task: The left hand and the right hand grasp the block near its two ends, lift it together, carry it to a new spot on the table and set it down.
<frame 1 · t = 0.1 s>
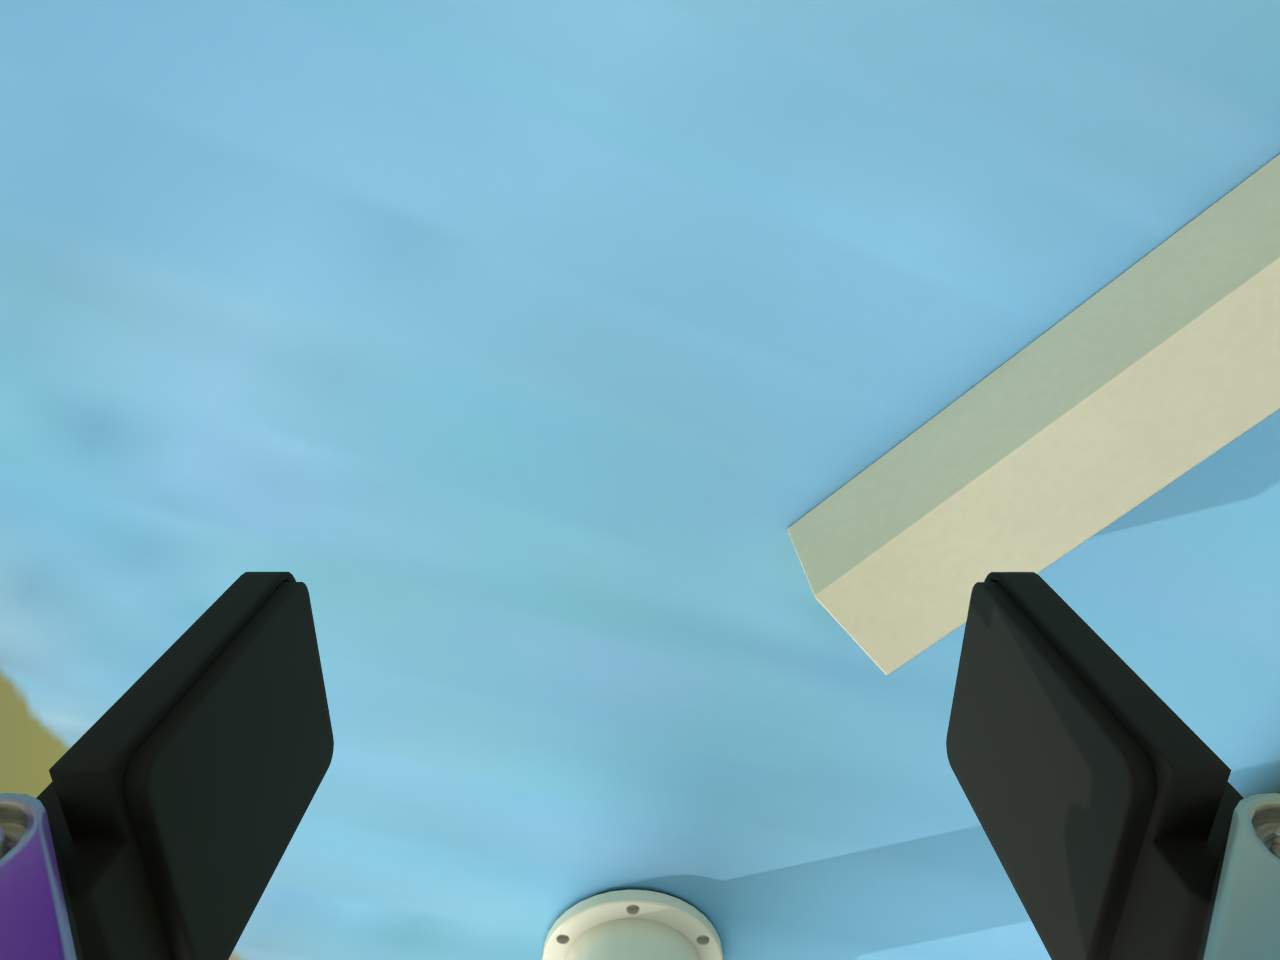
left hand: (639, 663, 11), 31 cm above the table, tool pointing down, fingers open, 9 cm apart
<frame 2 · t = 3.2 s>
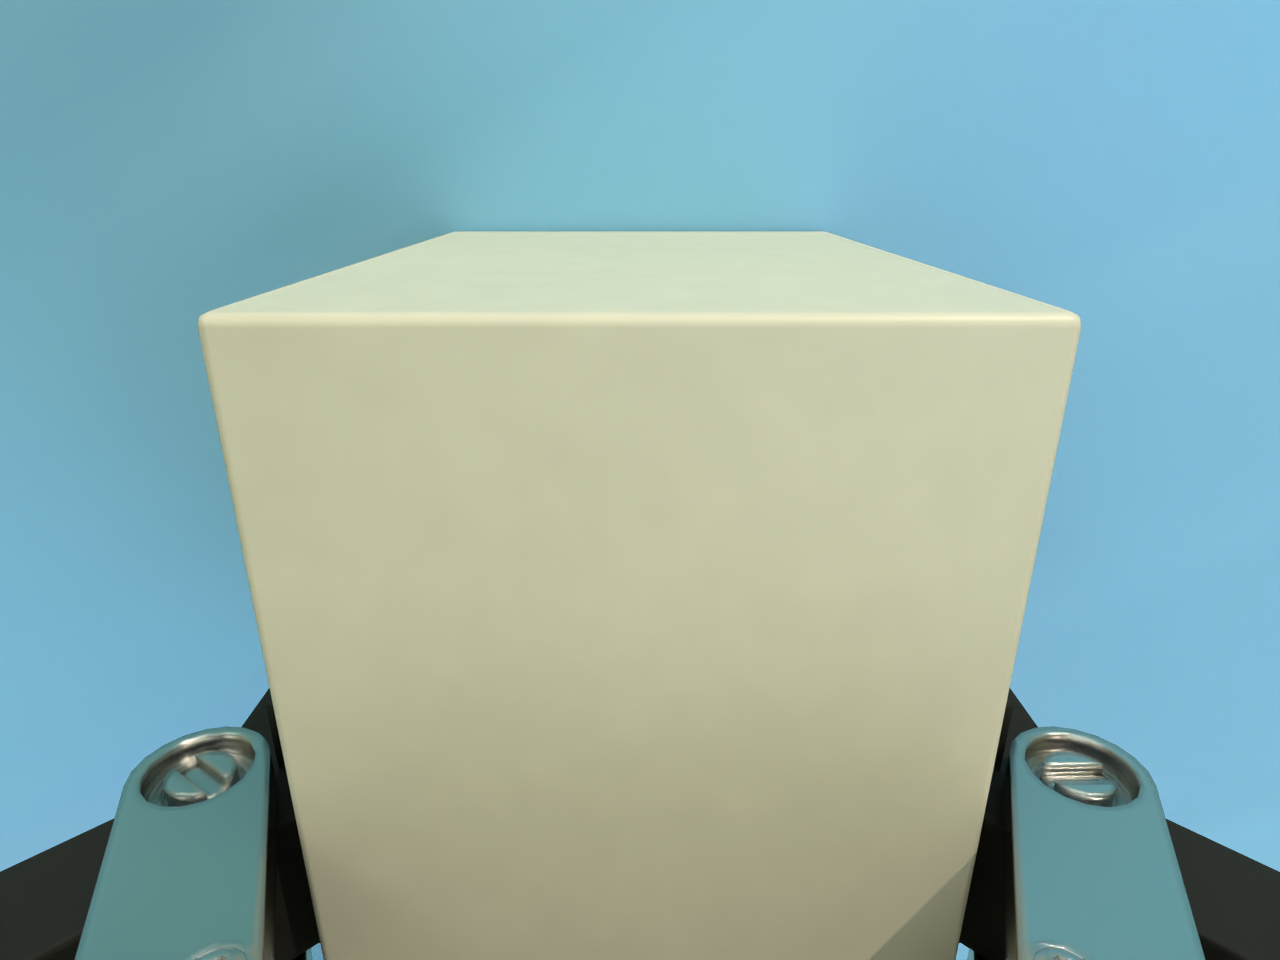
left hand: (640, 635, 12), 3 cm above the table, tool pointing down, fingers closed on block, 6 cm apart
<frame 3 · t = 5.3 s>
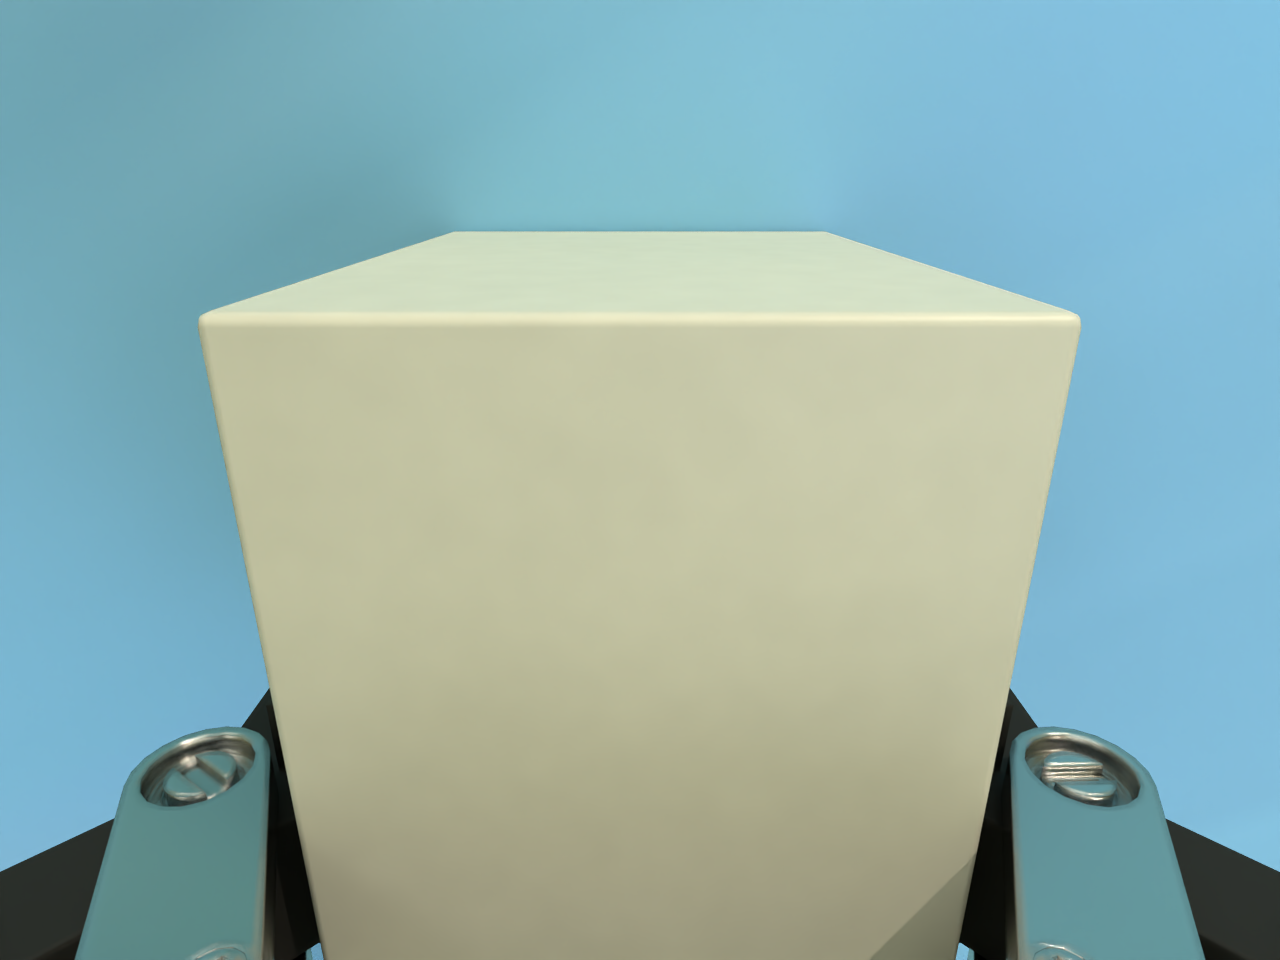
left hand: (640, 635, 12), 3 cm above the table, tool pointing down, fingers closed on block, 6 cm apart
when the right hand's fingers open (2 cm above the table, at t = 10.1 s): block drops 1 cm, on the table.
when the left hand's fingers open (4 cm above the table, at t = 10.2 s): block stays where it is, on the table.
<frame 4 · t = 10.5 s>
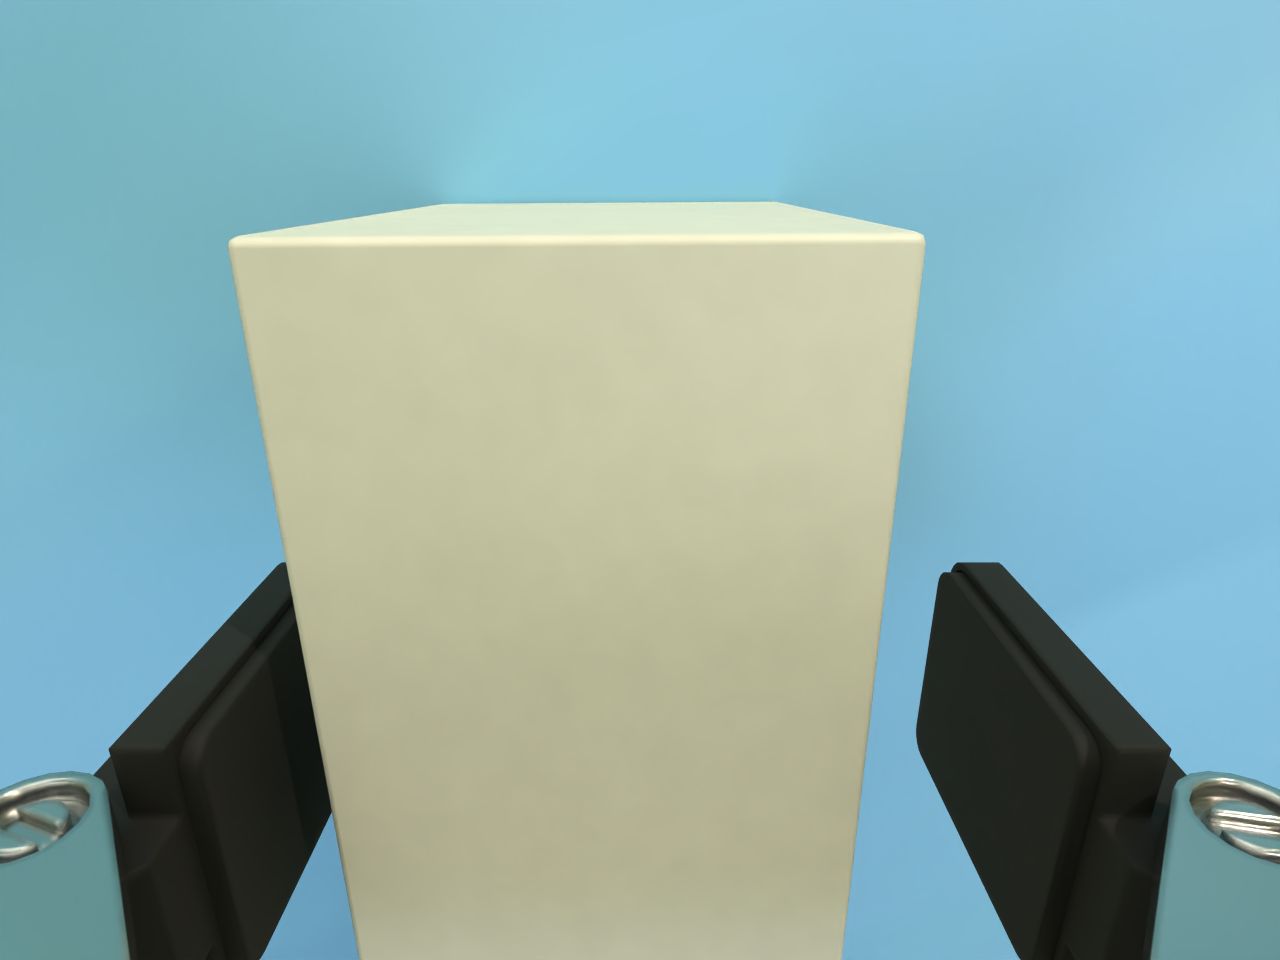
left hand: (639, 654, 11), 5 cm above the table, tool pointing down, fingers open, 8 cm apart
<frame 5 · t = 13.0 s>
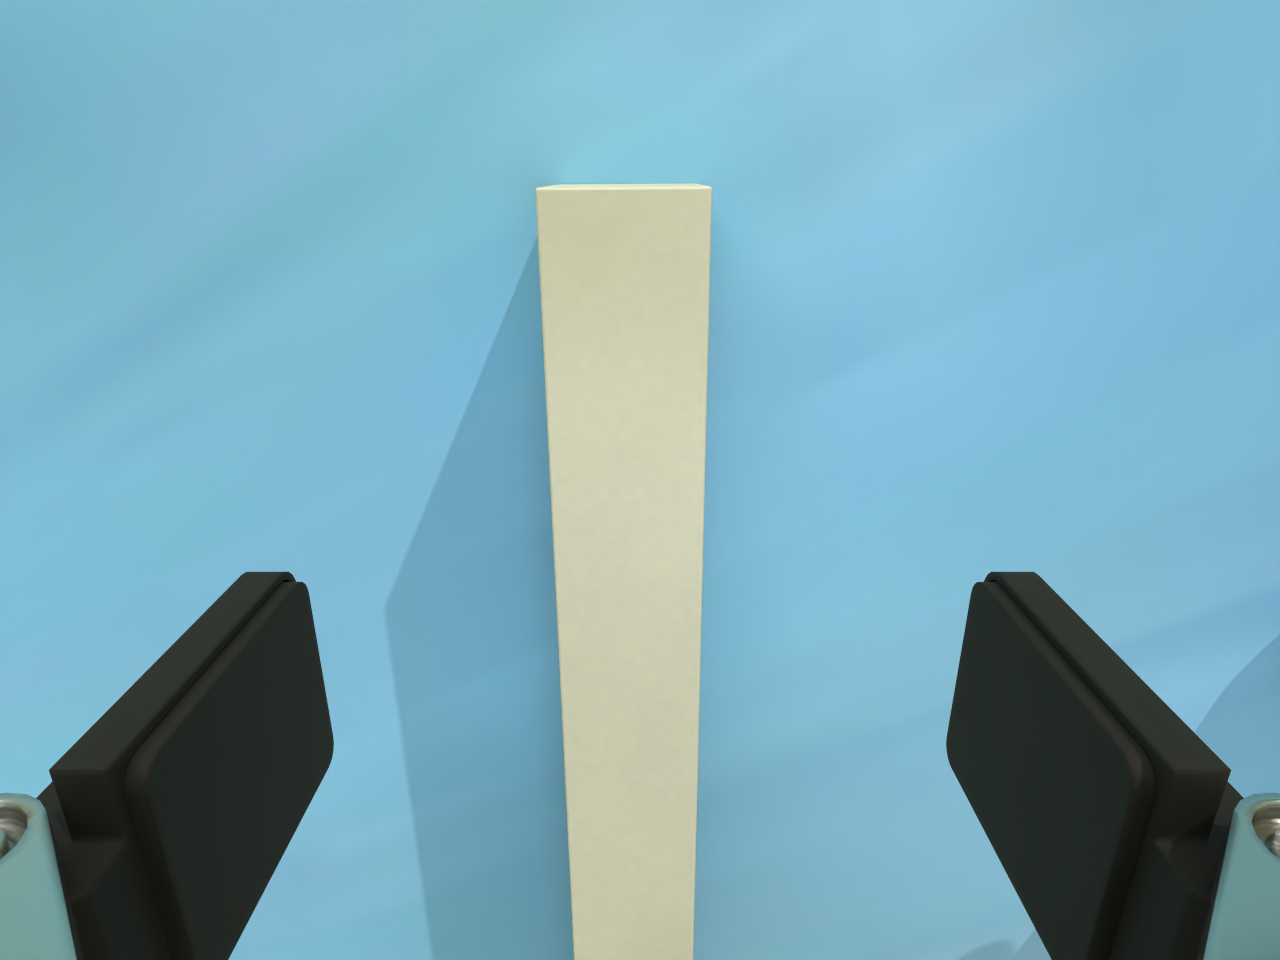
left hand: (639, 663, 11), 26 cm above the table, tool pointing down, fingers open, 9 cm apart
block: (633, 756, 45), on the table
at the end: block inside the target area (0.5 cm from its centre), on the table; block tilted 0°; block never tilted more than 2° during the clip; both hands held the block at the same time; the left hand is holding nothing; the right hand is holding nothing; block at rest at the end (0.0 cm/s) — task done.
